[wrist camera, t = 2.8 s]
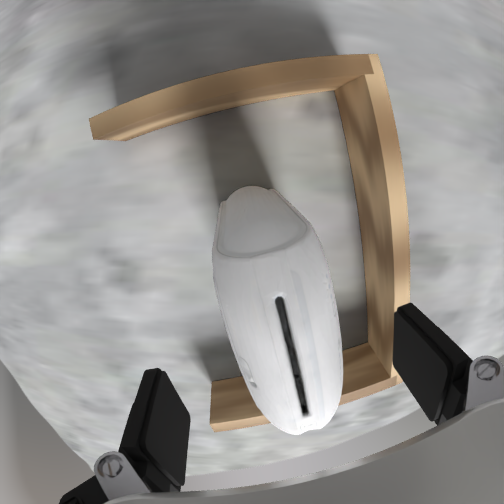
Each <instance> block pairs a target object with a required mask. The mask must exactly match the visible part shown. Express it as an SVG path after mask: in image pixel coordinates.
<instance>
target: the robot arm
mask: <svg viewBox="0 0 504 504" xmlns="http://www.w3.org/2000/svg"><path fill="white" fill-rule="evenodd" d="M392 362H393V366H394V368H395V370H396V371H397V373H398V374H399V376H400V377H401V378H402V380H403V381H404V383H405V384H406V386H407V387H408V389H409V390H410V392H411V393H412V394H413V396H414V397H415V399H416V400H417V402H418V403H419V405H420V406H421V408H422V409H423V411H424V412H425V414H426V415H427V417H428V418H429V420H430V421H435V423H436V424H437V426H436V427H434V428H432V429H430V430H428V431H426V432H424V433H422V434H420V435H417V436H415V437H413V438H411V439H409V440H407V441H404V442H402V443H400V444H398V445H395V446H393V447H390V448H388V449H385V450H383V451H381V452H378V453H375V454H373V455H370V456H368V457H364V458H362V459H359V460H356V461H353V462H350V463H347V464H344V465H341V466H337V467H334V468H331V469H327V470H324V471H320V472H316V473H312V474H309V475H305V476H300V477H296V478H291V479H286V480H282V481H277V482H271V483H265V484H259V485H253V486H246V487H238V488H230V489H220V490H207V491H190V492H180V489H181V486H183V485H184V483H185V472H186V461H187V450H188V440H189V430H190V415H189V412H188V411H187V409H186V407H185V405H184V404H183V402H182V400H181V399H180V397H179V395H178V393H177V392H176V390H175V388H174V386H173V385H172V383H171V381H170V379H169V377H168V375H167V374H166V372H165V371H161V369H159V368H155V369H148V370H145V372H144V374H143V377H142V380H141V383H140V386H139V390H138V393H137V396H136V399H135V402H134V403H133V405H132V408H131V411H130V414H129V417H128V421H127V424H126V427H125V430H124V434H123V437H122V441H121V444H120V447H119V451H118V452H115V451H112V452H107V453H105V454H103V455H102V456H100V457H99V458H98V460H97V461H96V463H95V465H94V472H95V476H93V477H92V478H90V479H88V480H87V481H85V482H84V483H82V484H81V485H79V486H78V487H76V488H74V489H73V490H71V491H69V492H68V493H66V494H65V495H64V496H63V497H62V498H61V500H60V503H59V504H504V368H503V365H502V363H501V362H500V361H499V360H498V359H497V358H495V357H492V356H481V357H478V358H476V359H475V360H474V361H473V360H472V359H471V358H470V357H469V356H468V355H467V354H466V353H465V352H464V351H463V350H462V349H461V348H460V347H459V346H458V345H457V344H456V343H455V342H453V341H452V340H451V339H450V338H449V337H448V336H447V335H446V334H445V333H444V332H443V331H442V330H441V329H440V328H439V327H437V326H436V325H435V324H434V323H433V322H432V321H431V320H430V319H429V318H428V317H426V316H425V315H424V314H423V313H422V312H421V311H420V310H419V309H418V308H417V307H416V306H414V305H413V304H412V303H407V304H405V305H402V306H399V307H398V308H397V311H396V312H395V313H394V335H393V357H392Z"/></svg>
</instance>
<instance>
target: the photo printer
mask: <svg viewBox="0 0 504 504" xmlns="http://www.w3.org/2000/svg"><path fill="white" fill-rule="evenodd" d="M212 263H213V279H214V285H215V290H216V295H217V299H218V303H219V306H220V310H221V314H222V318H223V321H224V325H225V328H226V331H227V334H228V337H229V340H230V344H231V347H232V349H233V352H234V355H235V358H236V361H237V363H238V366H239V368H240V371H241V373H242V375H243V378H244V380H245V383H246V385H247V387H248V389H249V391H250V394H251V396H252V398H253V400H254V402H255V403H256V405H257V407H258V408H259V409H260V410H261V412H262V413H263V415H264V416H265V417H266V418H267V419H268V420H269V421H270V422H271V423H272V424H273V425H274V426H276V427H277V428H279V429H280V430H282V431H284V432H286V433H289V434H293V435H300V434H302V433H304V432H306V431H308V430H313V429H321V428H322V427H324V426H325V425H326V424H327V423H328V422H329V421H330V420H331V418H332V417H333V415H334V413H335V411H336V409H337V407H338V405H339V402H340V398H341V394H342V386H343V355H342V341H341V332H340V324H339V317H338V311H337V305H336V299H335V293H334V289H333V284H332V279H331V275H330V271H329V267H328V263H327V260H326V257H325V254H324V251H323V248H322V246H321V243H320V241H319V239H318V237H317V235H316V233H315V230H314V228H313V227H312V225H311V224H310V222H309V221H308V220H307V219H306V218H305V217H304V216H303V215H302V214H301V213H300V212H298V210H297V209H295V208H294V207H293V206H292V205H291V203H289V202H288V201H287V200H286V199H285V198H284V197H283V196H282V195H281V194H280V193H279V192H277V191H276V190H275V189H269V190H267V189H265V188H262V187H259V186H246V187H242V188H240V189H238V190H236V191H235V192H233V193H232V194H231V195H230V196H229V198H228V199H227V200H226V201H222V202H221V203H220V207H219V214H218V220H217V225H216V232H215V236H214V242H213V248H212Z"/></svg>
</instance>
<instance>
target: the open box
mask: <svg viewBox="0 0 504 504" xmlns="http://www.w3.org/2000/svg"><path fill="white" fill-rule="evenodd" d="M333 90H334V92H335V95H336V99H337V103H338V107H339V112H340V116H341V120H342V125H343V129H344V134H345V138H346V143H347V148H348V153H349V158H350V164H351V169H352V175H353V181H354V187H355V193H356V200H357V207H358V214H359V222H360V230H361V239H362V248H363V258H364V269H365V283H366V298H367V320H368V342H367V343H364V344H361V345H358V346H355V347H352V348H349V349H346V350H343V351H342V355H343V386H342V394H341V398H340V402H339V405H342V404H345V403H348V402H351V401H354V400H357V399H360V398H363V397H366V396H369V395H371V394H374V393H377V392H379V391H382V390H385V389H387V388H390V387H392V386H395V385H397V384H400V383H402V382H403V380H402V378H401V377H400V376H399V374H398V373H397V371H396V370H395V368H394V366H393V362H392V357H393V335H394V313H395V312H396V311H397V308H398V307H399V306H402V305H405V304H407V303H410V244H409V224H408V211H407V199H406V190H405V181H404V173H403V166H402V159H401V152H400V146H399V141H398V135H397V130H396V125H395V120H394V115H393V110H392V106H391V102H390V97H389V93H388V89H387V85H386V82H385V78H384V74H383V71H382V67H381V64H380V60H379V57H378V54H353V55H333V56H320V57H309V58H300V59H292V60H284V61H277V62H271V63H265V64H259V65H254V66H249V67H244V68H239V69H234V70H230V71H225V72H221V73H217V74H213V75H209V76H205V77H201V78H198V79H194V80H191V81H187V82H184V83H180V84H177V85H174V86H171V87H168V88H165V89H162V90H159V91H156V92H153V93H150V94H147V95H145V96H142V97H139V98H137V99H134V100H131V101H129V102H126V103H124V104H121V105H119V106H117V107H114V108H112V109H110V110H107V111H105V112H103V113H100V114H98V115H96V116H94V117H92V118H90V119H89V122H90V127H91V131H92V136H93V140H117V141H127V140H130V139H132V138H135V137H138V136H140V135H143V134H146V133H149V132H152V131H154V130H157V129H160V128H163V127H166V126H169V125H173V124H176V123H179V122H182V121H186V120H189V119H192V118H196V117H199V116H203V115H207V114H210V113H214V112H218V111H222V110H226V109H230V108H234V107H238V106H243V105H247V104H252V103H257V102H262V101H267V100H272V99H277V98H283V97H289V96H295V95H302V94H309V93H316V92H324V91H333ZM339 405H338V406H339ZM268 423H271V422H270V421H269V420H268V419H267V418H266V417H265V416H264V415H263V413H262V412H261V410H260V409H259V408H258V407H257V405H256V403H255V402H254V400H253V398H252V396H251V394H250V391H249V389H248V387H247V385H246V383H245V380H244V378H243V376H240V377H235V378H230V379H225V380H219V381H213V382H212V388H211V407H210V426H211V427H212V429H213V430H214V432H220V431H227V430H234V429H240V428H246V427H252V426H258V425H263V424H268Z"/></svg>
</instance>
